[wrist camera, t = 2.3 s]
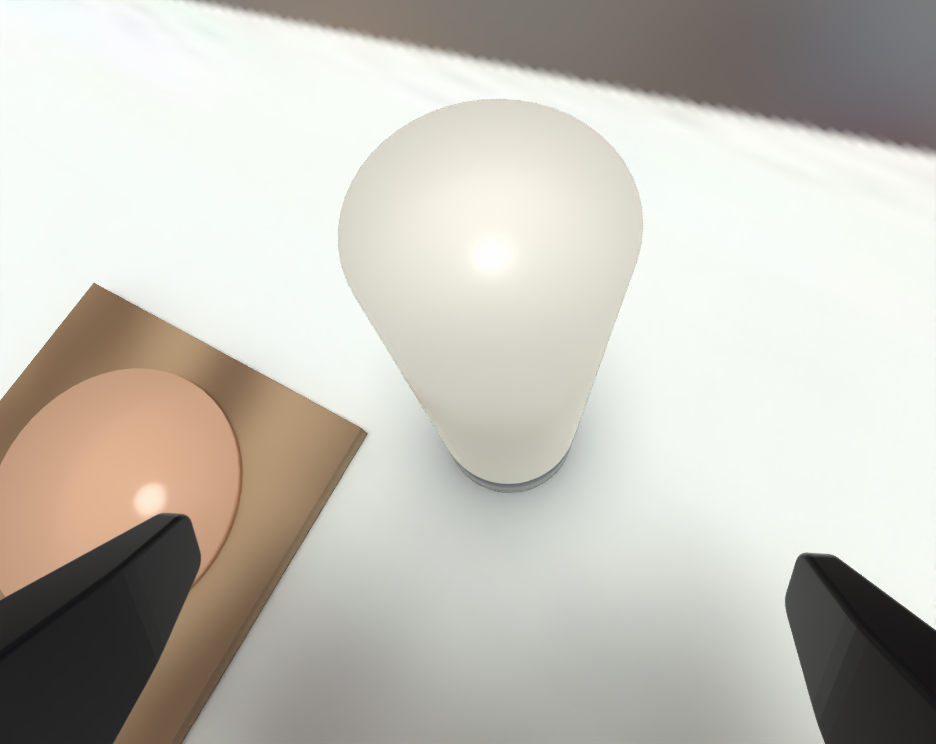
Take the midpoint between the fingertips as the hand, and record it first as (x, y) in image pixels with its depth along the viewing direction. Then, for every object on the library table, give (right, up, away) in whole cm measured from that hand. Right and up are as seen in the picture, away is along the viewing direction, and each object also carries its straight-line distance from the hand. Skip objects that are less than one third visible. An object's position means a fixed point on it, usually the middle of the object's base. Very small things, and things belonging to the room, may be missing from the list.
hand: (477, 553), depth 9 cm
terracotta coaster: (-12, -2, +12) cm, 17 cm away
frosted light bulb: (+1, +1, +12) cm, 12 cm away
